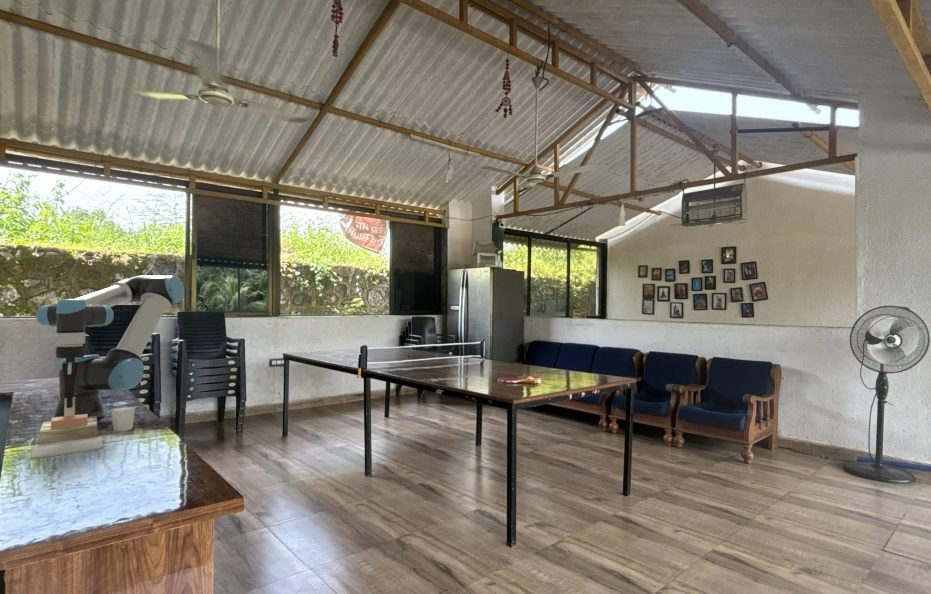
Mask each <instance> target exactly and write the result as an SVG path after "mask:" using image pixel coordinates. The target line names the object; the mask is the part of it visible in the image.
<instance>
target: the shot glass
mask: <svg viewBox="0 0 931 594" xmlns="http://www.w3.org/2000/svg"><path fill="white" fill-rule="evenodd" d="M110 411H111V421H112V431H114V432H121V431H122V432H123V430H124V431H128V429H129V430H132V429H133V428H134V422H135V421H134V420H135V412H136V407H135V406H121V407H114V408H112V409H110Z"/></svg>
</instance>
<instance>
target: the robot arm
mask: <svg viewBox="0 0 931 594" xmlns="http://www.w3.org/2000/svg"><path fill="white" fill-rule="evenodd" d="M184 293H185V291H184V285H183V283H182V280H181V279H180V278H179V277H178V276H176V275H169V274H166V275H152V274H151V275H143V274H141V275H136V276H132V277H128V278H125V279H122V280H118V281H116V282H113V283H112V284H111V285H110V286H108V287H105V288H103V289H100V290H97V291H93V292H90V293H88V294H86V295H85V294H84V295H82V296H79V297H76V298H62V299H61V298H60V299H58V301H57V302H56V303H57V304H45V305H44V304H43V305H42V306H40V307H39V308H38V309H37V310H36V315H35V317H36V321H37V322H38V324H40V325H41V326H44V327H52V328H53V327H56V331H55V332H56V335H54V336H53V339H54V340H55V344H56V348H55V358H57V359H61V360H60V362H59V370H58V373H59V375H58V377H59V383H58V384H59V399H58V402H57V404H56V408H55V410H54V412H53V413H52V414H53V415H52V418H55V417H64V416H73V415H82V414H88V417H93V416H97V419H99V418H102V417H104V416H105V414H106V413H105V407H104V405H103V402H102V399H101V397H100V391H115V392H117V391H127V390H131V389H133V388H135V387H137V386H138V385H139V383H140V382H141V381H142V380H143V377H144V373H145V372H144V370H145V365H144V363H143V358H142V354H143V352H144V350H145V348H146V346H147V345H148V342H149V341H150V339H151V337H152V336H153V334H154V331H155V329H156V328H157V326H158V324H159V323H160V320H161V318H162V316H163V314H164V312H166V311H170V309H171V308H172V307H173V304H174V303H175V304H177V303H180V302H182V300H183V299H184V295H185V294H184ZM130 303H141V304H140V306H139V307H138V309H137V310H136V312H135V314H134V316H133V318H132V320H131V321H130V323H129V325H128V327H127V328H126V330H125V332H124V334H123V335H122V337H121V339H120V340H119V342H118V344H117V346H116V347H115V348H112V349H109V351H108V352H107V354H106V355H105V357H104V358H100V354H95V353H94V354H88V355H87V354H86V347H85V344H86V327H87V328H88V327H102V326H108V325H109V324H111V323H112V322H113V321H114V316H115V315H114V314H115V313H114V310H113V309H112V307H114V306H117V305H123V306H124V305H127V304H130Z"/></svg>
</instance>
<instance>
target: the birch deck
mask: <svg viewBox="0 0 931 594" xmlns="http://www.w3.org/2000/svg"><path fill="white" fill-rule="evenodd" d="M38 437H39V438H38V442H39V443H38V445H40V444H48V443H55V442H63V441H70V440H78V439H85V438H93V437H98V418H97V416H93V417H88V418H87V424H85V425H77V426H68V427H60V428H51V420H50V421H43V423H42V425H41V428H40V430H39V436H38Z"/></svg>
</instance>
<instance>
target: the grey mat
mask: <svg viewBox="0 0 931 594" xmlns="http://www.w3.org/2000/svg"><path fill="white" fill-rule="evenodd" d="M102 447H103V445H102V436H97V437H93V438H85V439H78V440H70V441H63V442H55V443H48V444H40V445H39V444H35V445H34V446H33V448H32V451H31V454H30V456H29V460H34V459H42V458H49V457H55V456H61V455H69V454H74V453H82V452H84V453H85V452H90V451H97V450H102Z"/></svg>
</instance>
